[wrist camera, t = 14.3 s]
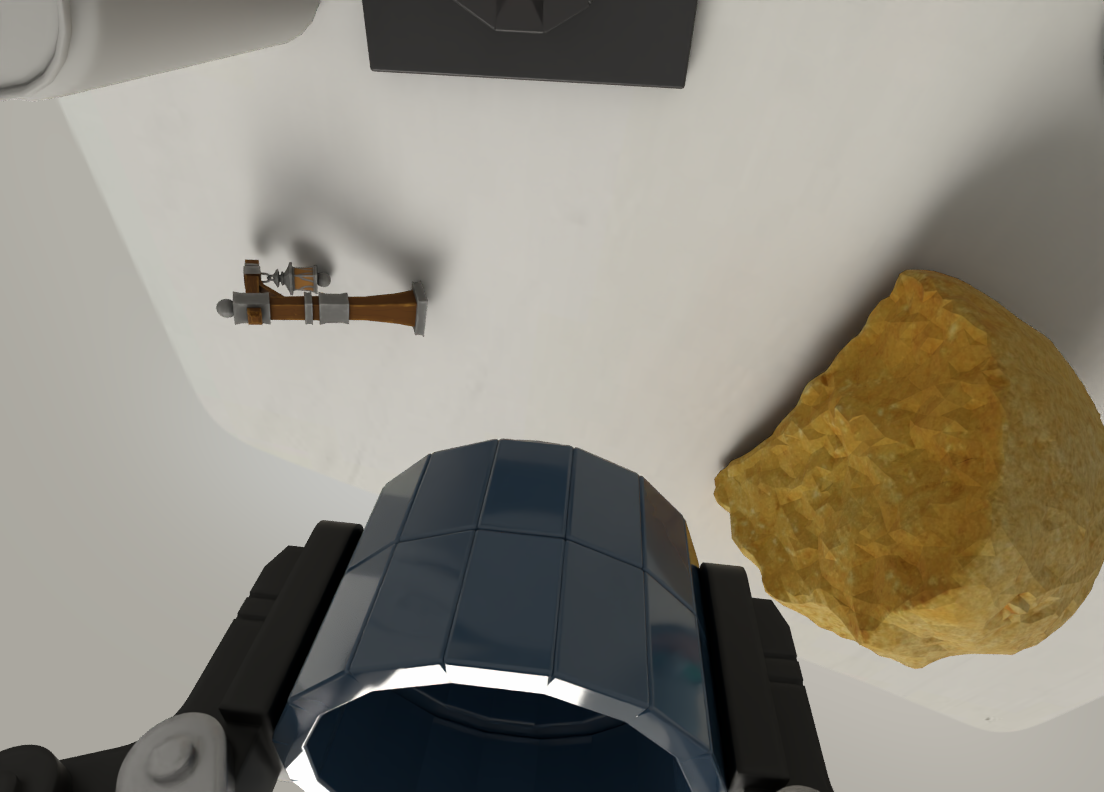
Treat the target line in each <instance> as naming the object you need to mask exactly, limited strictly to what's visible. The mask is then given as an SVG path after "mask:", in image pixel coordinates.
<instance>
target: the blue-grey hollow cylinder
mask: <svg viewBox="0 0 1104 792" xmlns="http://www.w3.org/2000/svg"><path fill="white" fill-rule="evenodd" d="M272 743H273V745H274V747H275V749H276V751H277V754H278V756H279V758H280V760H281V762H282V764H283V767H284V769H285V771H286V773H287V775H288V777H289V778H290V779H291V781H293V782H294V783H295V784H296V785H298V786H299V787H300V788H301V789H303V790H304V791H305V792H729V787H728V779H727V772H726V764H725V757H724V749H723V742H722V735H721V727H720V720H719V712H718V705H717V697H716V690H715V682H714V675H713V667H712V661H711V658H710V646H709V638H708V631H707V623H706V616H705V608H704V601H703V593H702V586H701V578H700V571H699V563H698V559H697V556H696V553H695V549H694V546H693V543H692V540H691V537H690V533H689V530H688V527H687V524H686V521H685V519H684V518H683V516H682V514H681V513H680V512H679V511H678V510H677V509H676V508H675V507H673V506H672V505H671V504H670V503H669V502H668V501H667V500H666V499H665V498H664V497H663V496H662V495H661V494H660V493H659V492H658V491H657V490H656V489H655V488H654V487H653V486H652V485H651V484H650V483H649V482H648V481H647V480H646V479H645V478H644V477H643V476H639V475H638V474H637V473H636V472H633V471H631V470H629V469H626V468H624V467H622V466H619V465H617V464H615V463H612V462H610V461H608V460H606V459H603V458H601V457H599V456H596V455H594V454H592V453H589V452H587V451H585V450H582V449H580V448H577V447H575V448H573V447H572V446H570V445H561V444H556V443H550V442H543V441H534V440H513V439H500V440H498V439H492V440H487V441H483V442H478V443H474V444H469V445H464V446H460V447H455V448H451V449H446V450H441V451H437V452H434V453H432V454H428V455H427V456H425V457H424V458H422V459H421V460H420V461H418V462H417V463H415V464H414V465H412V466H411V467H410V468H408V469H407V470H405V471H404V472H402V473H401V474H400V475H398V476H397V477H395V478H394V479H392V480H391V481H390V482H388V483H387V484H386V485H385V487H383V488H382V491H381V493H380V495H379V497H378V500H377V502H376V504H375V506H374V509H373V511H372V513H371V515H370V518H369V520H368V522H367V524H366V526H365V529H364V531H363V533H362V535H361V537H360V540H359V542H358V544H357V546H356V548H355V551H354V553H353V555H352V557H351V560H350V562H349V564H348V566H347V568H346V571H345V573H344V575H343V577H342V580H341V582H340V584H339V586H338V589H337V591H336V593H335V595H334V597H333V600H332V602H331V604H330V606H329V609H328V611H327V613H326V615H325V617H324V620H323V622H322V624H321V626H320V629H319V631H318V633H317V635H316V637H315V640H314V642H313V644H312V646H311V649H310V651H309V653H308V655H307V657H306V660H305V662H304V664H303V666H302V669H301V671H300V673H299V675H298V677H297V680H296V682H295V684H294V686H293V689H292V691H291V693H290V695H289V697H288V700H287V702H286V704H285V706H284V709H283V711H282V713H281V715H280V718H279V720H278V722H277V725H276V727H275V729H274V731H273V734H272Z"/></svg>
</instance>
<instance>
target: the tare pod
mask: <svg viewBox="0 0 1104 792" xmlns="http://www.w3.org/2000/svg"><path fill="white" fill-rule="evenodd" d="M697 1H698V0H362V3H363V11H364V20H365V28H366V36H367V44H368V52H369V60H370V68H371V70H372V71H377V72H395V73H413V74H430V75H448V76H465V77H483V78H501V79H518V80H536V81H553V82H571V83H588V84H606V85H624V86H641V87H659V88H676V89H682V88H684V86H685V81H686V74H687V68H688V61H689V55H690V48H691V41H692V35H693V28H694V21H695V15H696V8H697Z"/></svg>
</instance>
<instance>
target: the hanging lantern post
mask: <svg viewBox="0 0 1104 792" xmlns="http://www.w3.org/2000/svg"><path fill="white" fill-rule="evenodd" d="M261 274H263V275H267V276H268V277H267V279H268V281H261ZM271 277H273V279H271ZM270 281H274V283H275V284H276V286H277V287H279V282H281V284H282V286H283V285H284V284H285V285H286V286H287V288H288V290H289V292H290V295H293V291H295V290H301V291H311V292H314V293H316V294H318V293H317V284H318V285H319V286H321V287H326V286H328V285H329V284H330V282H331V279H330V276H329V275H328V274H326V273H319V274H317V268H316V265H314V266H313V267H303V268H295V267H292V262H289V265H288V268H287V270H286V271H285V273H283V272H281V275H279V271H278V269H277V270H276V271H275V273H274V275H269V274H268V273H261V271H260V266H259V260H245V266H244V283H245V289H246V293H238V292H233V301H232V300H229V299H223V300H221V301H219V302H218V304H217V306H216V309H217V312H218V313H219V314H220V315H221V316H222V317H226V318H229V317H232V316H234V321H235V325H236V324H241V323H249V325H262V323H265V324H271V322H270V320H305V322H306V324H312V325H313V320H320V324H325V323H346V324H349V320H369V321H378V322H387V323H396V324H402V325H407V326H412V327H413V329H414V332H415V335H422V336H423V337H424V331H425V321H426V311H427V298H426V295H425V292H424V289H423V286H422V283H421V281H419V282H415V283H414V282H412V290H410V291H406V292H401V293H395V294H385V295H376V296H367V297H348V294H347V293H343V294H325V293H321V292H319V296H312V295H311V292H309V293H306V292H304V296H289V297H284V296H283V295H281V294H279V293H278V292H276V291H274V290H272V289H271V288H269V287H267V286H266V285H264V284H263V283H268V282H270Z"/></svg>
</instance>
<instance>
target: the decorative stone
mask: <svg viewBox="0 0 1104 792" xmlns="http://www.w3.org/2000/svg"><path fill="white" fill-rule="evenodd" d="M714 480H715V486H716V488H715V491H714V496H715V498H716V501H717V502H718V504H719V505H720V506H722V507H723V508H724V509H725V510H726V511H728V512H729V513H730V519H731V532H732V539H733V541H734V542H735V544H736V545H737V546H738V548H739V549H740V551H741V552H742V553H743V555H744V556H745V557H747V558H748V559H749V560H751V561H752V562H753V563H754V564H755V565H756V566H757V567H758V568H759V570H760V572H761V575H762V582H763V585H764V588H765V591H766V593H768V594H769V595H770V596H771V597H773V598H774V599H775V600H777V601H778V602H779V603H781V604H782V605H783V606H786V607H788V608H790V609H792V610H794V611H796V612H798V613H800V614H803V615H805V616H806V617H808V618H809V619H810V620H812V621H813V622H814V623H815V624H817V625H818V626H819V627H821V628H824V629H827V630H830V631H833V632H834V633H836V634H837V635H839V636H840V637H842V638H846V639H850V640H854V641H856V642H858V643H859V644H860V645H862V646H864V647H866V648H868V649H870V650H872V651H873V652H875V653H876V654H878V655H879V656H883V657H887V658H891V659H893V660H896V661H898V662H900V663H902V664H904V665H906V666H908V667H911V668H914V669H917V668H923V667H925V666H926V665H928V664H930V663H932V662H934V661H936V660H939V659H941V658H945V657H949V656H955V655H963V654H1007V655H1013V654H1015V653H1017V652H1019V651H1021V650H1023V649H1026V648H1029V647H1032V646H1035V645H1037V644H1038V643H1040V642H1041V641H1043V640H1044V639H1045V638H1047V637H1048V636H1049V635H1050V634H1052V633H1053V632H1054V631H1056V630H1057V629H1058V628H1060V627H1061V626H1062V625H1063V624H1064V623H1065V622H1066V621H1067V620H1068V619H1069V618H1070V617H1071V616H1072V615H1073V614H1074V613H1075V612H1076V610H1077V609H1078V608H1079V607H1080V605H1081V604H1082V603H1083V601H1084V600H1085V598H1086V597H1087V595H1088V594H1089V593H1090V591H1091V590H1092V587H1093V584H1094V581H1095V579H1096V577H1097V576H1098V574H1099V571H1100V569H1101V566H1102V564H1103V561H1104V426H1103V424H1102V421H1101V419H1100V413H1098V411H1097V410H1096V407H1095V404H1094V403H1093V401H1092V399H1091V398H1090V396H1089V395H1088V393H1087V391H1086V389H1085V387H1084V385H1083V384H1082V382H1081V381H1080V380H1079V378H1078V377H1077V375H1076V374H1075V372H1074V370H1073V369H1072V368H1071V366H1070V365H1069V363H1068V362H1067V361H1066V360H1065V359H1064V357H1063V356H1062V355H1061V354H1060V352H1059V351H1058V350H1057V348H1056V347H1055V346H1054V344H1053V343H1052V342H1051V341H1050V340H1049V339H1048V338H1047V337H1045V336H1044V335H1043V334H1041V333H1040V332H1038V331H1037V330H1035V329H1034V328H1032V327H1031V326H1029V325H1028V324H1026V323H1025V322H1023V321H1022V320H1020V319H1019V318H1017V317H1016V316H1015V315H1013V314H1012V313H1011V312H1010V311H1008V310H1007V309H1006V308H1004V307H1003V306H1002V305H1001V304H999V303H998V302H997V301H995V300H993V299H992V298H990V297H989V296H987V295H985V294H984V293H982V292H981V291H979V290H977V289H975V288H974V287H972V286H971V285H969V284H967V283H965V282H963V281H961V280H959V279H957V278H955V277H952V276H949V275H945V274H942V273H939V272H936V271H930V270H905V271H904V272H902V273H900V274H899V276H898V278H897V281H896V283H895V286H894V289H893V291H892V292H891V294H890V296H889V297H887V298H885V299H883V300H881V301H880V302H879V303H878V305H877V306H876V307H875V308H874V310H873V311H872V312H871V313H870V315H869V317H868V319H867V322H866V324H865V326H864V327H863V329H862V330H861V332H860V333H859V335H857V336H856V337H854V338H853V339H851V340H850V342H849V343H848V344H847V345H846V346H845V347H844V348H843V349H842V350H841V351H840V352H839V353H838V354H837V356H836V357H835V359H834V360H833V362H832V363H831V365H830V366H829V368H828V369H827V370H826V371H825V372H823V373H822V374H820V375H819V376H817V377H816V378H814V379H813V380H811V381H810V382H808V383H807V385H806V387H805V388H804V390H803V392H802V394H801V397H800V399H799V401H798V403H797V406H796V407H795V408H794V409H793V410H792V411H791V412H790V413H789V414H788V415H787V416H786V417H785V418H784V419H783V420H782V421H781V423H780V424H779V425H778V426H777V428H776V429H775V431H774V432H773V434H772V436H770V437H769V438H767V439H766V440H764V441H763V442H762V443H761V444H759V445H758V446H757V447H755V448H754V449H753V450H752V451H750V452H748V453H747V454H745V455H743V456H742V457H739V458H737V459H735V460H732V461H731V462H730V463H729V465H728V466H727V467H726V468H725V469H723V470H722V471H720V472H719V474H718V475H717V476H716V477H715V479H714Z"/></svg>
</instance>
